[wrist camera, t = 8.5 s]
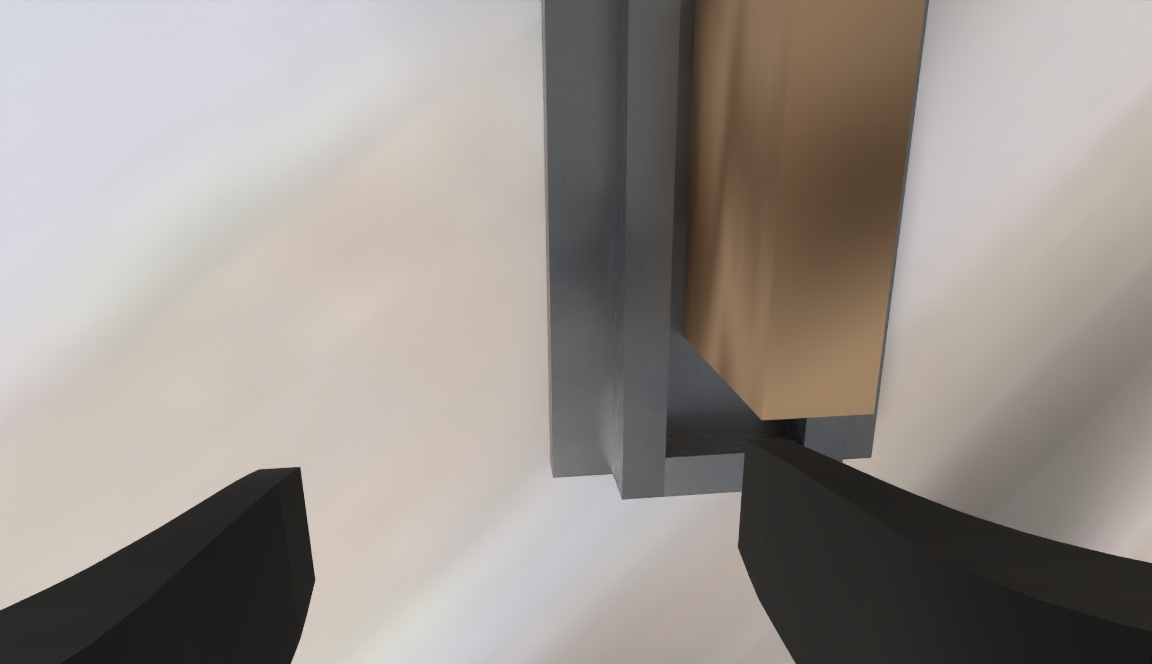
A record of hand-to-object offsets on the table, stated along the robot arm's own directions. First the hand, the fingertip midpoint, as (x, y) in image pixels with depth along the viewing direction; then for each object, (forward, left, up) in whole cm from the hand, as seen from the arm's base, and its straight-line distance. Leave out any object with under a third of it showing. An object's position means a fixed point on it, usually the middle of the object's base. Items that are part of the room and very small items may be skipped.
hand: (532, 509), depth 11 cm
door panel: (+5, -6, -8) cm, 11 cm away
